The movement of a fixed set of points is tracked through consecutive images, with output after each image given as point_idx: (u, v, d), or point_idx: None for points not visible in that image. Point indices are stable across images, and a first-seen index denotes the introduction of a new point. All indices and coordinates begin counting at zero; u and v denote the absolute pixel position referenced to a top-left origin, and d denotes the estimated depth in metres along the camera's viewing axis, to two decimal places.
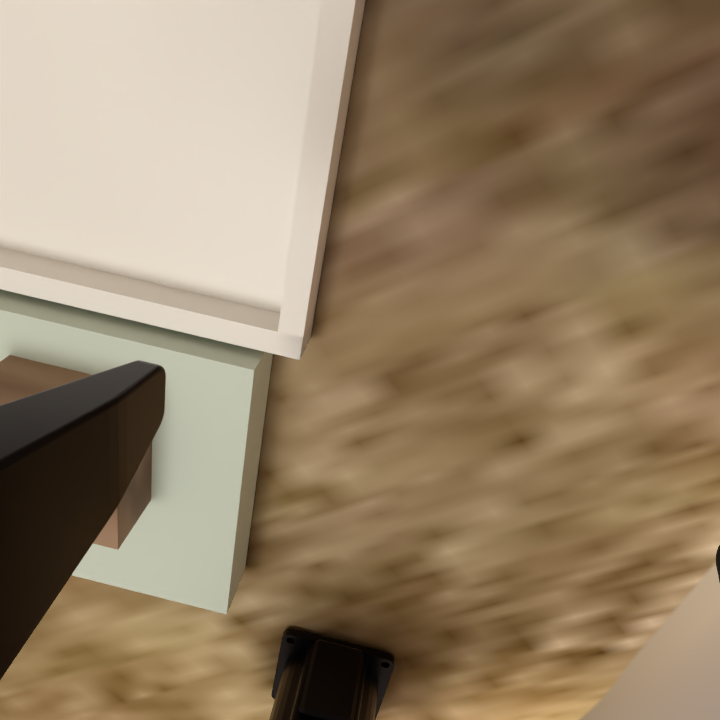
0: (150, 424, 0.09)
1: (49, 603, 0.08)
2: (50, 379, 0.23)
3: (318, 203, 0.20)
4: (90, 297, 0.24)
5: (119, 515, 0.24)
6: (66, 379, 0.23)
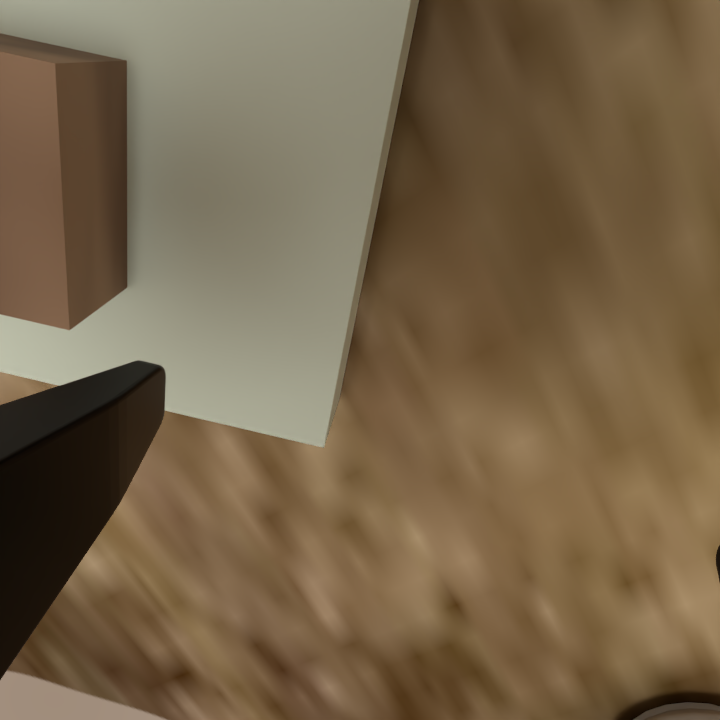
0: (150, 424, 0.09)
1: (48, 603, 0.08)
2: None
3: None
4: None
5: None
6: None
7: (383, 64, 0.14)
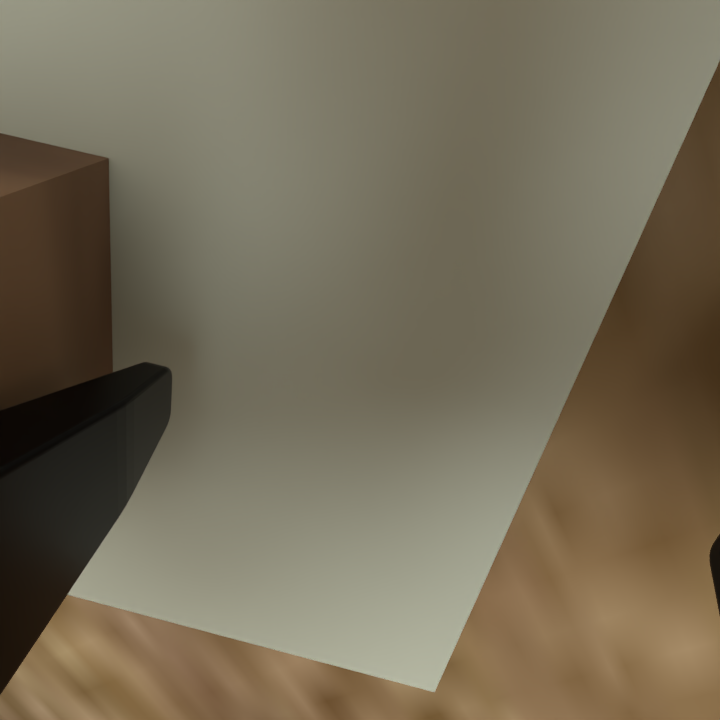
0: (157, 426, 0.09)
1: (56, 605, 0.07)
2: None
3: None
4: None
5: None
6: None
7: (628, 200, 0.08)
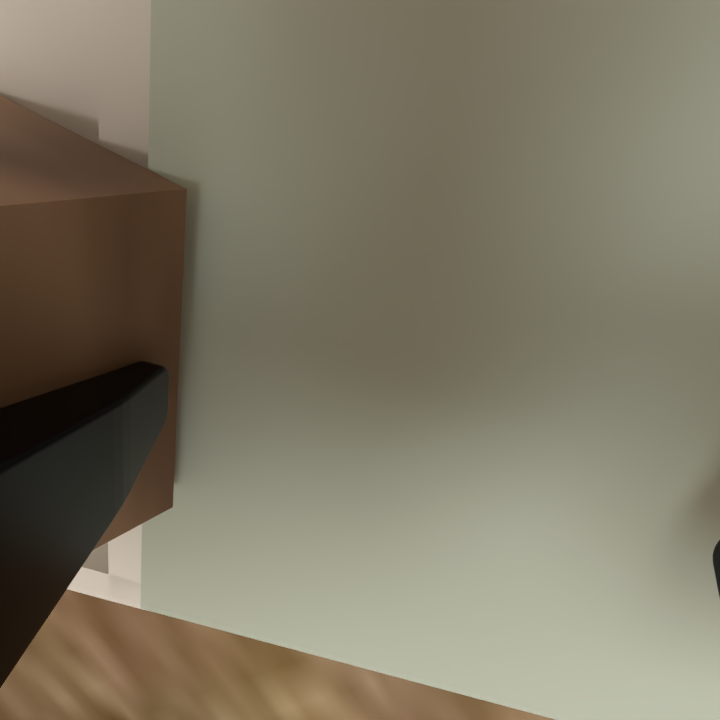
0: (154, 425, 0.09)
1: (52, 604, 0.08)
2: None
3: None
4: None
5: None
6: None
7: None
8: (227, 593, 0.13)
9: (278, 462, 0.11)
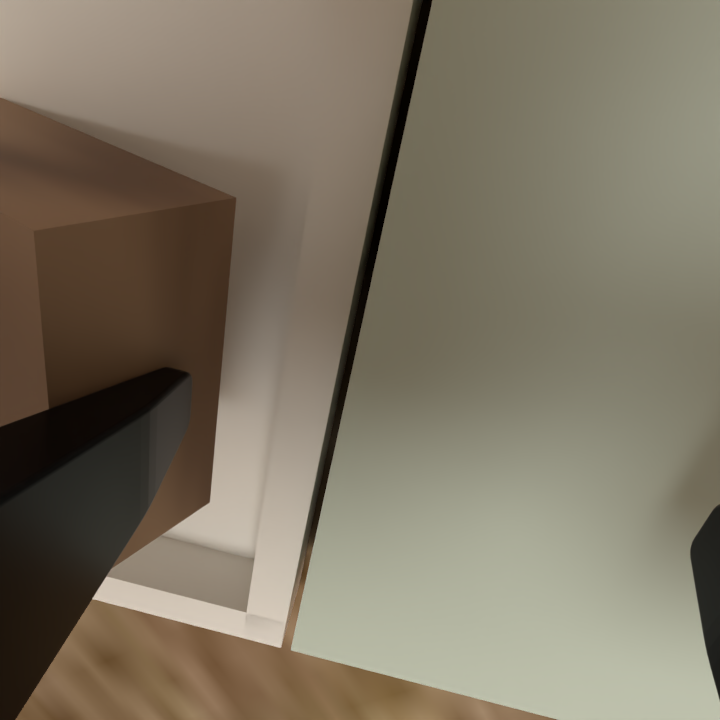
0: (177, 431, 0.09)
1: (81, 611, 0.07)
2: None
3: None
4: (308, 356, 0.11)
5: None
6: None
7: None
8: (386, 636, 0.13)
9: (466, 512, 0.11)
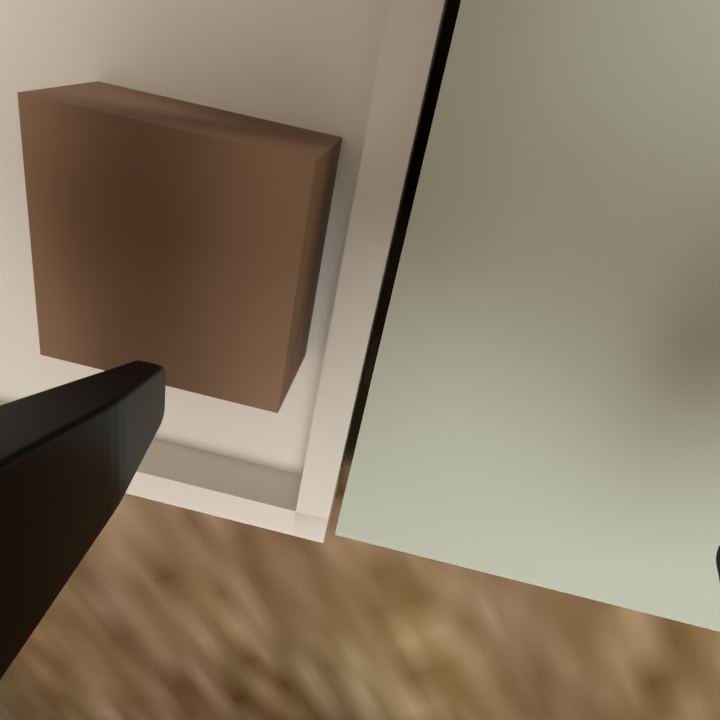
0: (150, 424, 0.09)
1: (48, 603, 0.08)
2: None
3: None
4: (355, 285, 0.14)
5: (232, 139, 0.12)
6: None
7: None
8: (413, 518, 0.16)
9: (478, 405, 0.14)
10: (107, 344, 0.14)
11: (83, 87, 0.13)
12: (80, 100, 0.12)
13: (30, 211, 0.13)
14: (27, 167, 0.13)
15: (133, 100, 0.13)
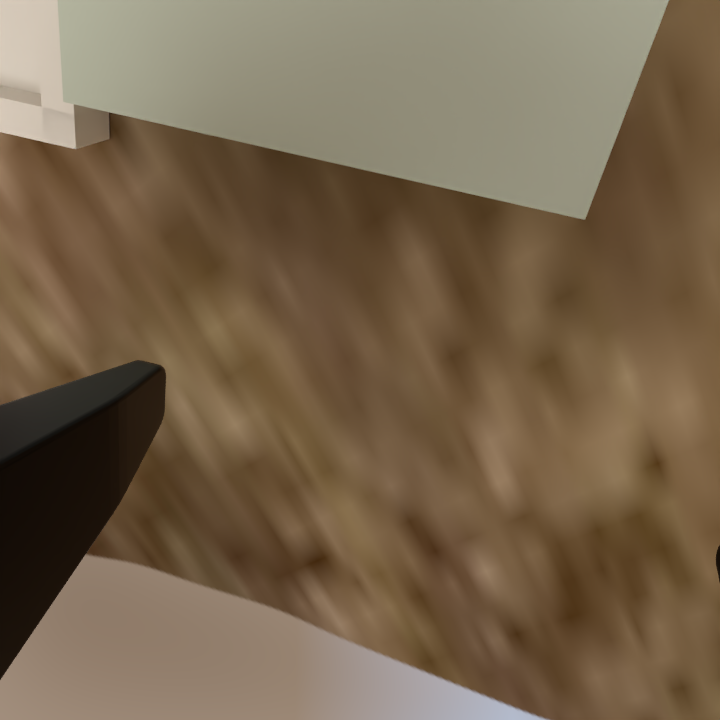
0: (150, 424, 0.09)
1: (48, 603, 0.08)
2: None
3: None
4: None
5: None
6: None
7: None
8: (130, 66, 0.16)
9: None
10: None
11: None
12: None
13: None
14: None
15: None
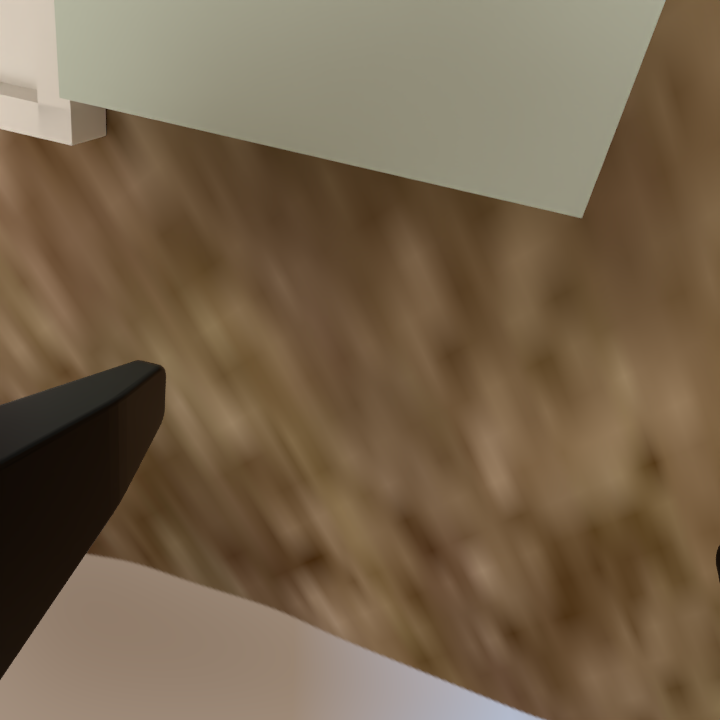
0: (150, 424, 0.09)
1: (48, 603, 0.08)
2: None
3: None
4: None
5: None
6: None
7: None
8: (127, 62, 0.16)
9: None
10: None
11: None
12: None
13: None
14: None
15: None
